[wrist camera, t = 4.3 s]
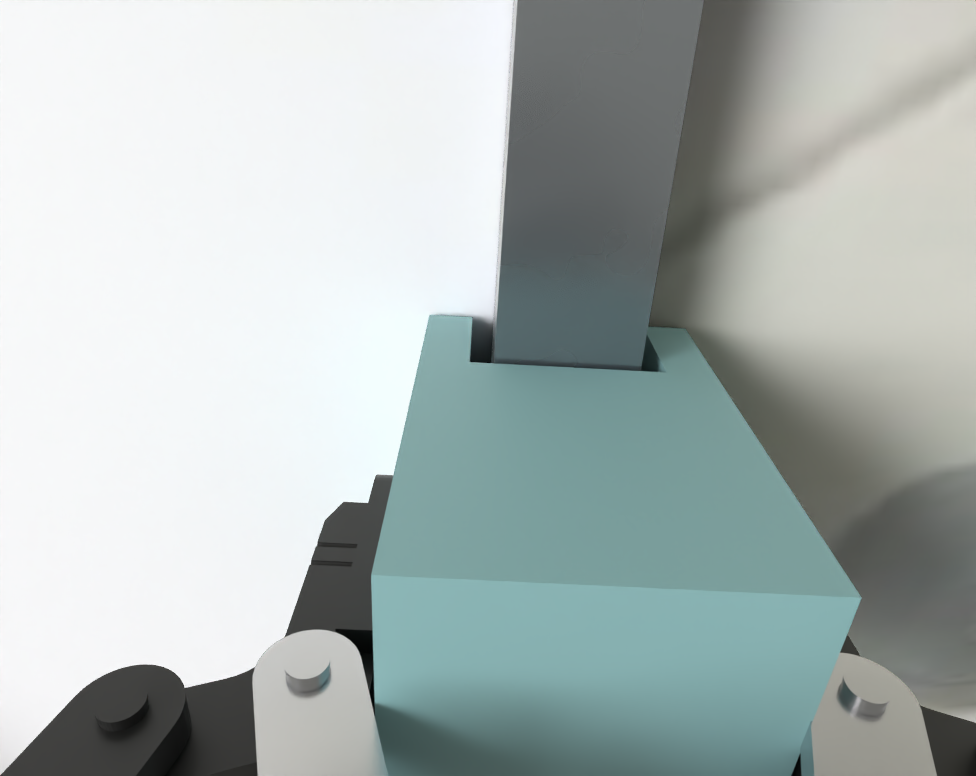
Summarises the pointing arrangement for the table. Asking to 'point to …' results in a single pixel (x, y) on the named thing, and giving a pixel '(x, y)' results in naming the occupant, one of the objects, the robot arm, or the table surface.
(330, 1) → the table surface
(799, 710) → the block
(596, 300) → the rail
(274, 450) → the table surface
